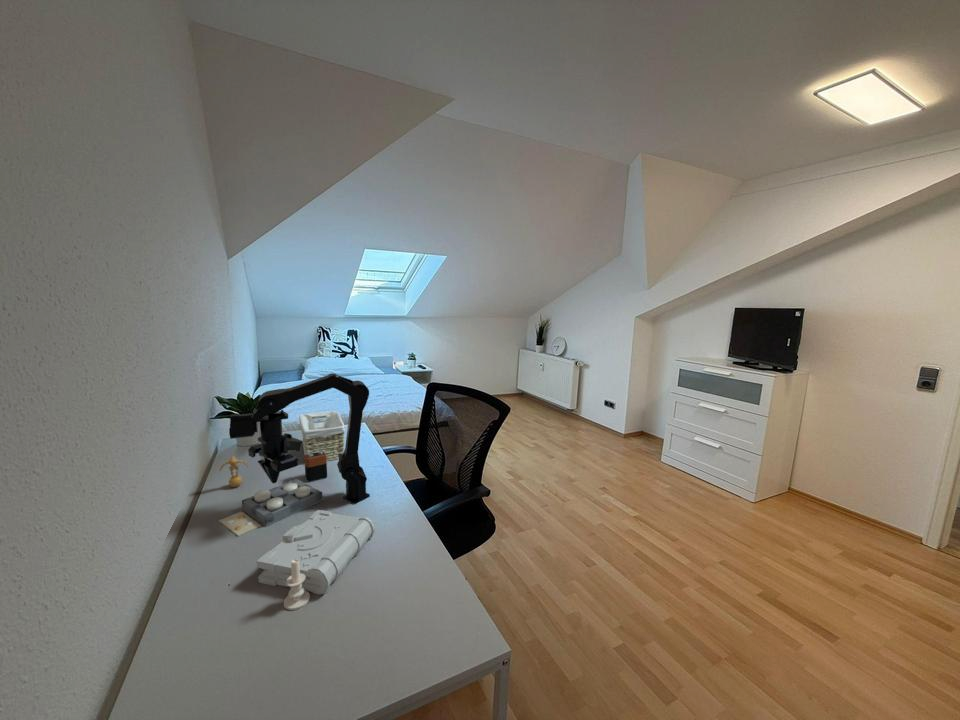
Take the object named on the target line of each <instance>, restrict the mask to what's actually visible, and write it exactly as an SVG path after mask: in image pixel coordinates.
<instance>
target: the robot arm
mask: <svg viewBox="0 0 960 720" xmlns="http://www.w3.org/2000/svg"><path fill="white" fill-rule="evenodd" d="M331 389H335V390H337V391H339V392H341V393H343V394H345V395H347V398H348V405H349V413H348V421H347V428H346V429H347V430H346V439H345V447H344V450H343V451H344V452H343V454H339V459H338V461H337V464H336V466H337V469H338V472H339V473H340V475H341V478H342V479H343V480H344V481H345V495H342V499H343V500H346V501H348V502H349V503H352V504H354V505H355V504H357V503H359V502H361V501H363V500H365V499H367V498H369V497H371V494H370V493H367V488H366V487H367V480H368V478H367V476H366V473H365V470H364V469H363V467H362V466H360V459H359V445H360V436H361V427H362V420H363V411H364V410H365V408H366V405H367V404H368V399H369V396H370V390H369V388H368V386H367V385H366V384H365V383H364V382H363V381H361V380H352V379H350V378H347V377H343V376H341V375H338V374H336V373H334V372H331V373H328V374H327V375H325V376H320V377H318V378H315V379H313V380H310V381H307V382H303V383H301V384H298V385H295V386H292V387H288V388H278V389H271V390H267V391H264V392H263V393H261V394H260V396H259V399H258V405H256V407H255V408H254V409H253V412H252V413H241V414H240V413H239V414H237V413H236V414H235V413H233V414H230V417H229V429H228V430H229V431H228V432H229V439H241V438H250V437H251V438H252V437H254V435H256V433H258V431H259V430H260V431H259V432H260V437H257V441H258V442H260V443H258V444H254V445H251V446H250V447H249V448H248V450H247V451H248V452H247V453H248V457H251V458H252V459H253V458H255V457H256V454H258V456H259V458H260V459H259V460H258V461H257V463H258V464H259V465H260V467H261V468H262V470H263V471H264V473H265V475H266V476H267V478H268V479H269V480H270V483H271V484H276V483H277V482H278V479H279V476H280V474H281V473H280V472H283V471H287V470H289V469H293V468H295V467H298V466H299V458H297V457H296V456H294V455H292V454H290V453H289V451H294V452H295V451H296V452H300V451H301V448H302V445H303V440H301V439H298V438H296V437H293V435H292V434H291V433H289V432H288V433H286V432H285V433H283V423H282V422H283V421H282V420H288V419H289V414H288V413H287V412H286V411H285V410H284V409H285V408H286V407H288V406H290V405H291V404H292V403H295V402H297V401H301V400H302V399H306V398H308V397H311V396H315V395H316V394H319V393H323V392H326V391H328V390H331ZM258 422H259V423H258Z"/></svg>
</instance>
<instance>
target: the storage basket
mask: <svg viewBox="0 0 960 720" xmlns="http://www.w3.org/2000/svg"><path fill="white" fill-rule="evenodd" d="M325 418H326V421H324V422H314V421H313V420H316V419H318V420H319V419H325ZM299 424H300V430H301V435H302V441H303V442H302V445H303V447H302V449H303V454H304V456H305V455H307V454H308V453H316V452H317V451H319V450H322V451H323V452H324V453H325V454H326V457H327V462H329V461H335V460H339V454H343V452H344V450H345V447H344V445H345V433H346V428H345V424H344V420H343V419H342V417H341V415H340V413H339V412H338V411H337V410H332V411H331V410H329V411H321V412H320V411H318V412H310V413H309V412H308V413H301V414H300V415H299Z"/></svg>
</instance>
